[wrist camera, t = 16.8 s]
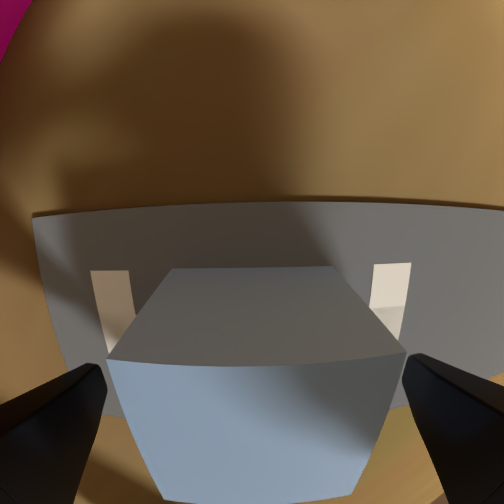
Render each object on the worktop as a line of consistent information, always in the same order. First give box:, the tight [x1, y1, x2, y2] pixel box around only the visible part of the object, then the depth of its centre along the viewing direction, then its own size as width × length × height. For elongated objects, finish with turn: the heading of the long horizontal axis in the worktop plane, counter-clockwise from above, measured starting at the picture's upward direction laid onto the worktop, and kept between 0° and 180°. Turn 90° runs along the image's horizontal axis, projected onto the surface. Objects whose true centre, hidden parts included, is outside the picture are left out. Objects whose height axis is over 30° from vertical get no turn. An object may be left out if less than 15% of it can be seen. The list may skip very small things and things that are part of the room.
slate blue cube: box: [106, 266, 407, 504], centre depth 7 cm, size 5×5×5 cm
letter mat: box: [32, 201, 504, 418], centre depth 10 cm, size 9×23×1 cm, turn 91°
